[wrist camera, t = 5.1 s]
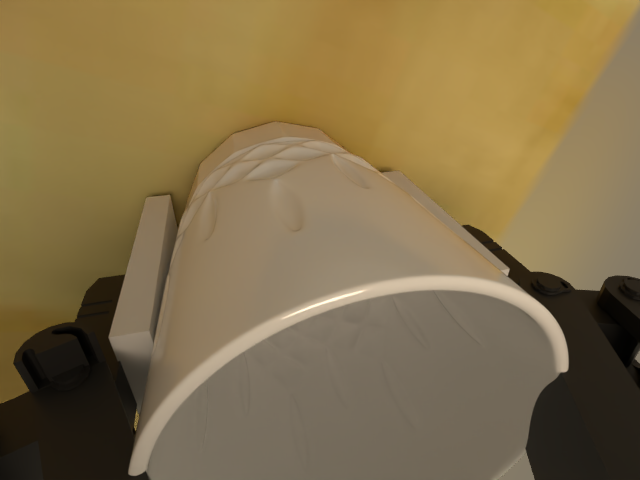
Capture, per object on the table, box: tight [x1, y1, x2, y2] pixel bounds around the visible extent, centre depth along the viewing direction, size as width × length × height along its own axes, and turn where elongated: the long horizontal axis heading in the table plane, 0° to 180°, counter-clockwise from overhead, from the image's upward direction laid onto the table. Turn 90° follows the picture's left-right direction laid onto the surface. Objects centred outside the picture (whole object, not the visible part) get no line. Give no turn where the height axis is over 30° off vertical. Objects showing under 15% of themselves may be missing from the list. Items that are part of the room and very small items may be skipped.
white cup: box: [128, 121, 569, 480], centre depth 11 cm, size 8×8×10 cm
